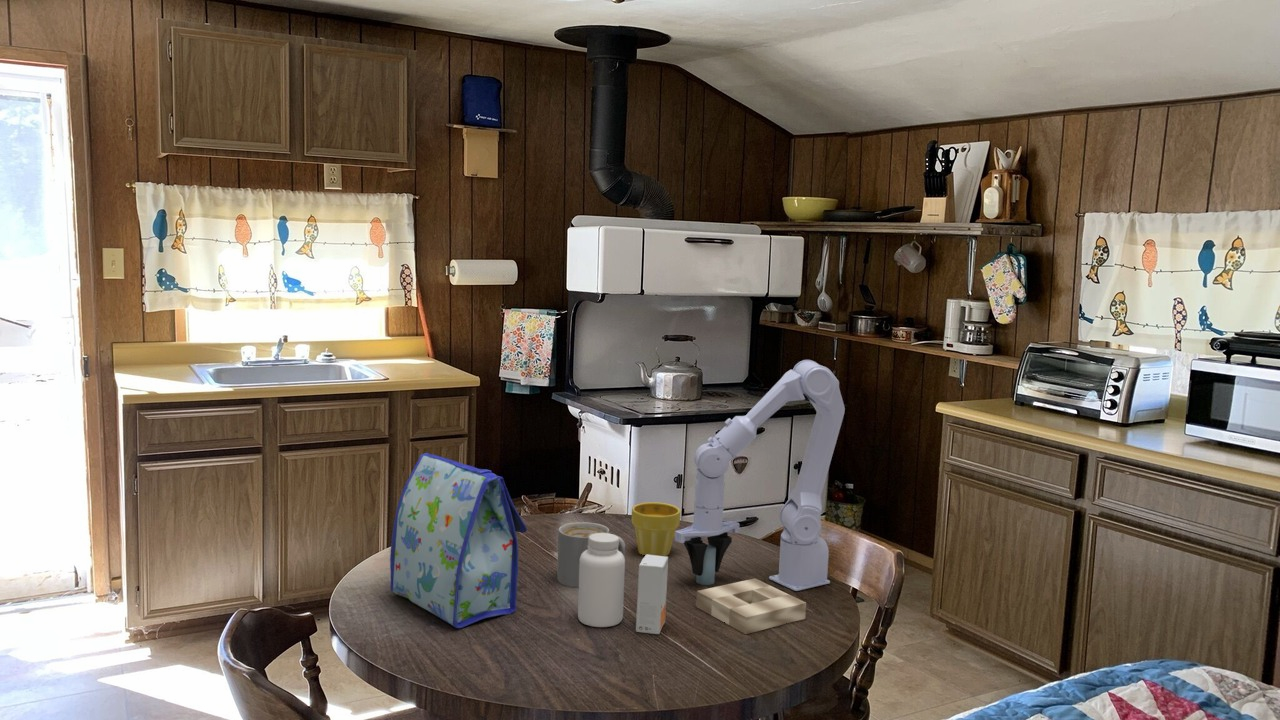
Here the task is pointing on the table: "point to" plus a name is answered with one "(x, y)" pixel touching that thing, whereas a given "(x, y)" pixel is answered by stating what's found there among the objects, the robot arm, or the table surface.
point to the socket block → (750, 605)
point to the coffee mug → (576, 549)
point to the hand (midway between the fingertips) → (705, 572)
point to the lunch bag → (456, 542)
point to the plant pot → (655, 527)
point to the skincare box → (651, 594)
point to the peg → (708, 567)
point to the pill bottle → (601, 582)
